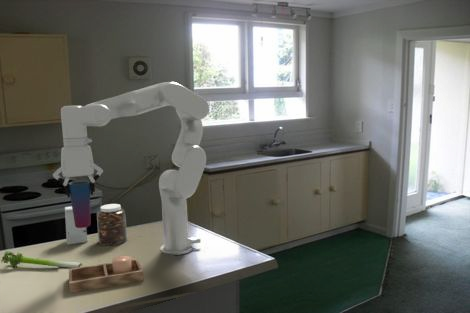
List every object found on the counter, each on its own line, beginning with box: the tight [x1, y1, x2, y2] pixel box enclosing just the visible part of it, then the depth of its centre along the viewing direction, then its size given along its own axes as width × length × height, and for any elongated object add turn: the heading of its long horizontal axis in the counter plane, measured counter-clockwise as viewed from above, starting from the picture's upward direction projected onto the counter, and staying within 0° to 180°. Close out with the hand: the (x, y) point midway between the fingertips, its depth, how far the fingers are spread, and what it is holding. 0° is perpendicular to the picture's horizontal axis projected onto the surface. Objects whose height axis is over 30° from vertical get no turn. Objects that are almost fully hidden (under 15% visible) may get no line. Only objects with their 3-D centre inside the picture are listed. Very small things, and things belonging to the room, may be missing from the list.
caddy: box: [68, 258, 144, 294], centre depth 142 cm, size 22×12×4 cm, turn 111°
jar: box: [96, 203, 128, 247], centre depth 182 cm, size 12×12×15 cm
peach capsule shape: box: [112, 255, 132, 275], centre depth 143 cm, size 6×6×6 cm
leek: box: [0, 250, 83, 269], centre depth 156 cm, size 6×7×30 cm
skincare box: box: [64, 205, 88, 246], centre depth 182 cm, size 8×6×15 cm
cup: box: [68, 180, 92, 228], centre depth 147 cm, size 7×7×15 cm
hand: (80, 194), depth 147 cm, fingers closed on cup, 6 cm apart
